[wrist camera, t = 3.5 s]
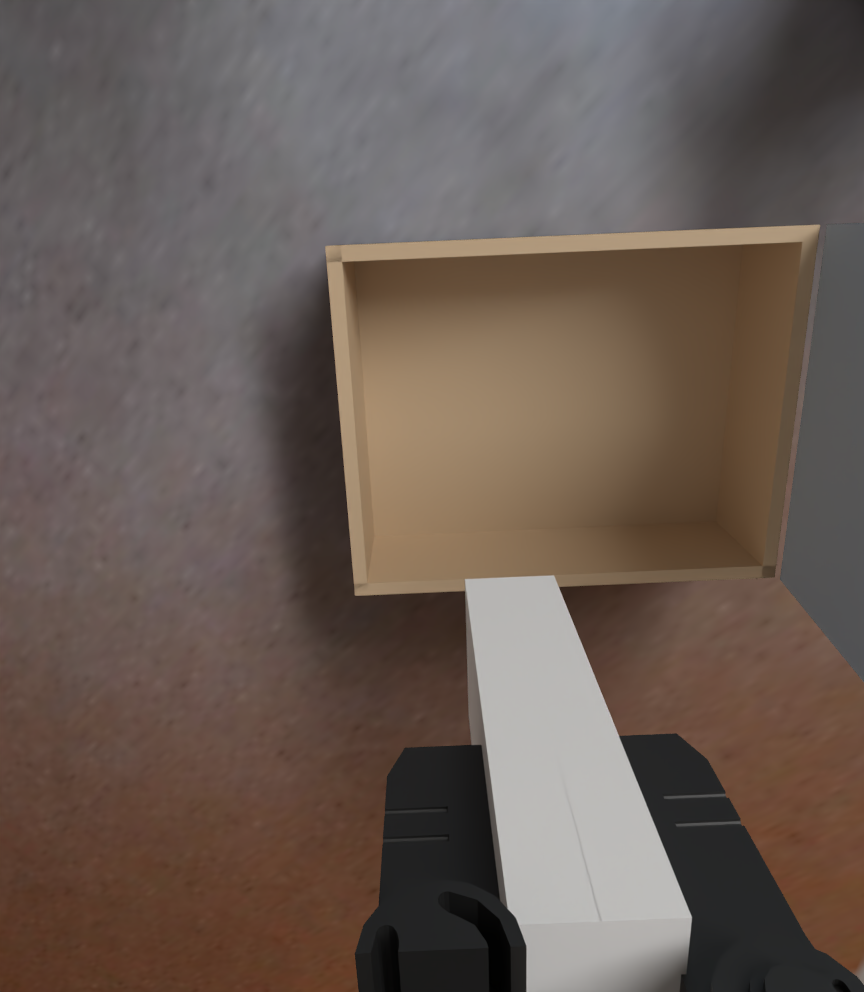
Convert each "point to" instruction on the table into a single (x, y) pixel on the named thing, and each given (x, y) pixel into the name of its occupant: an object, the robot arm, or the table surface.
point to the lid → (832, 456)
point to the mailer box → (569, 404)
